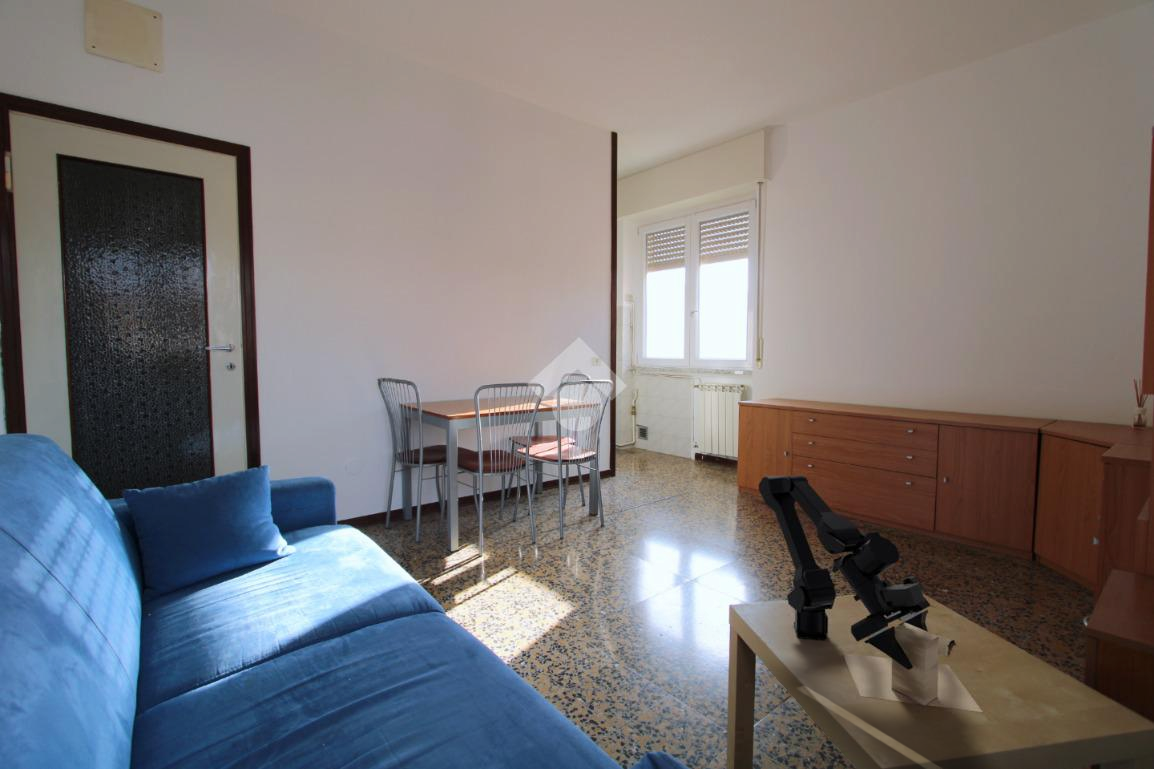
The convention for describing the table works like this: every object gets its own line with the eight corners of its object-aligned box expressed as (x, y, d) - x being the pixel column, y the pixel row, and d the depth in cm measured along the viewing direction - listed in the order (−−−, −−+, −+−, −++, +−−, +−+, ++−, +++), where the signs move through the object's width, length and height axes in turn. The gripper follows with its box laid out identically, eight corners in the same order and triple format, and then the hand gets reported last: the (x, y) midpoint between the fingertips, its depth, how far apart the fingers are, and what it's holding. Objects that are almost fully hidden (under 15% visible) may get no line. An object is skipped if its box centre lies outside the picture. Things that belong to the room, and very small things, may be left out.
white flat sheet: (860, 702, 101) (860, 696, 101) (842, 658, 115) (842, 652, 115) (982, 718, 96) (983, 712, 96) (947, 670, 110) (948, 664, 110)
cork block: (891, 689, 103) (892, 629, 102) (904, 681, 105) (905, 622, 104) (924, 706, 97) (925, 643, 97) (937, 698, 100) (938, 636, 99)
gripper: (866, 576, 98) (929, 662, 90) (920, 555, 108) (982, 632, 99) (827, 600, 106) (882, 683, 97) (881, 579, 115) (936, 653, 106)
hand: (922, 662), depth 99 cm, fingers open, 8 cm apart
